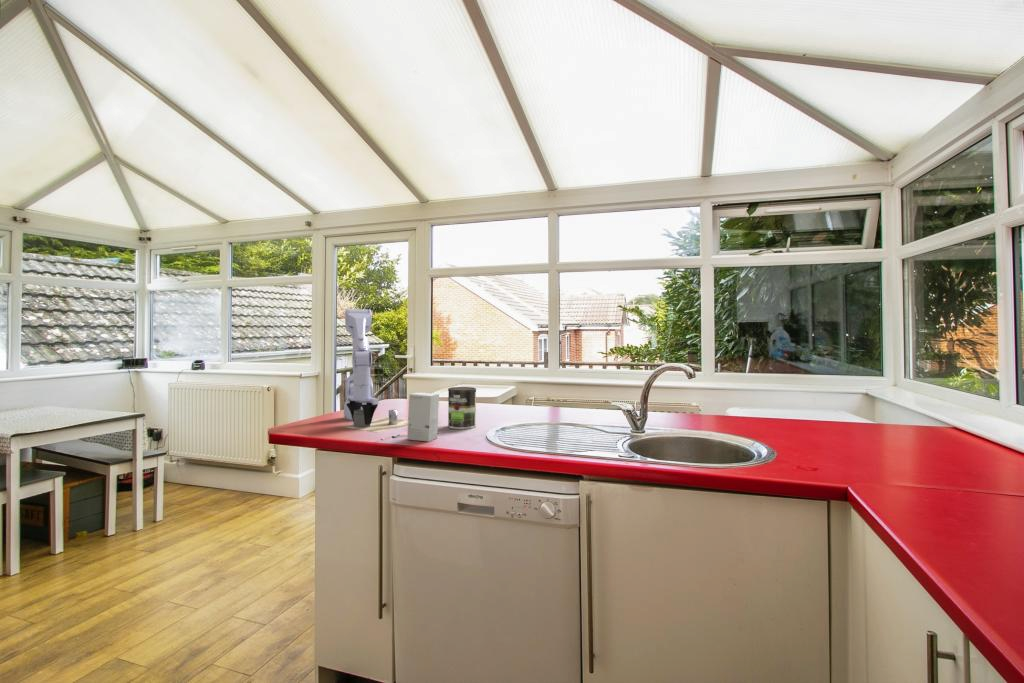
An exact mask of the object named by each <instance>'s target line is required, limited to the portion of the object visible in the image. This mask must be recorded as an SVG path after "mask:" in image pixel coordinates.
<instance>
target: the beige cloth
mask: <svg viewBox="0 0 1024 683" xmlns="http://www.w3.org/2000/svg"><path fill="white" fill-rule="evenodd" d="M341 427H342V428H346V429H354V430H358V431H359V430H360V431H365V432H371V433H380V432H381V433H382V432H385V431H390V430H394V429H398V428H403V427H408V419H407V420H406V419H401V418H397V424H396V425H389V417H383V418H377V419H372V422H371V425H370V426H368V427H354V423H353V424H347V425H343V426H341Z"/></svg>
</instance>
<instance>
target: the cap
mask: <svg viewBox="0 0 1024 683" xmlns="http://www.w3.org/2000/svg"><path fill="white" fill-rule="evenodd" d="M353 424H354V427H368V426H370V425H371V424H367V425H366V424H365V419H364V411H363V409H357V410H354V423H353Z"/></svg>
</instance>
